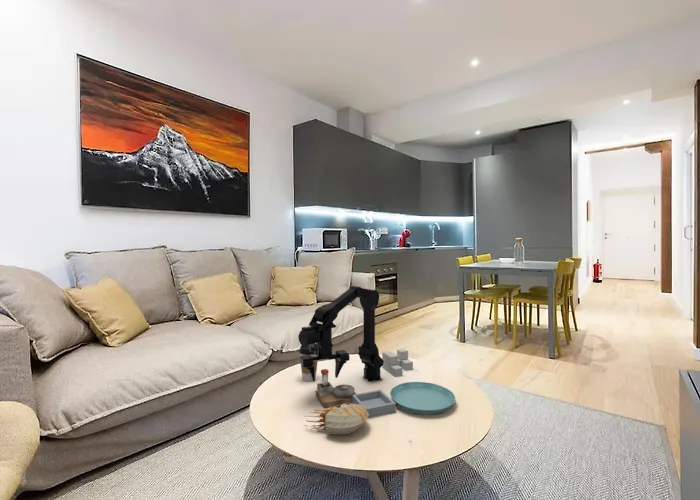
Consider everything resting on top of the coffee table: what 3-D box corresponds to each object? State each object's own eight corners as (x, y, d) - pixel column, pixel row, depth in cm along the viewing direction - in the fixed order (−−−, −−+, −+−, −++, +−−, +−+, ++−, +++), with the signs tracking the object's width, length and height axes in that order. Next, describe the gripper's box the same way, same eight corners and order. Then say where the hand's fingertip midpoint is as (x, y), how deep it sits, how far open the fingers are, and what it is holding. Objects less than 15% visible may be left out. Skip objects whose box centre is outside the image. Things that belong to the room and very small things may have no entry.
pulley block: (348, 389, 148) (348, 377, 148) (358, 401, 138) (358, 388, 137) (315, 395, 143) (315, 383, 142) (323, 408, 132) (323, 395, 132)
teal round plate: (466, 401, 138) (466, 392, 138) (434, 427, 120) (434, 417, 120) (412, 383, 154) (412, 376, 154) (377, 404, 136) (377, 395, 136)
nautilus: (299, 441, 113) (310, 418, 128) (367, 441, 110) (371, 418, 125) (297, 415, 113) (309, 396, 128) (365, 415, 110) (369, 395, 125)
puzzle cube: (395, 377, 160) (395, 360, 160) (382, 368, 171) (382, 351, 171) (417, 373, 165) (417, 356, 164) (403, 364, 176) (403, 348, 176)
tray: (380, 397, 140) (380, 389, 140) (395, 412, 129) (395, 403, 129) (352, 403, 136) (352, 394, 136) (365, 418, 125) (365, 409, 125)
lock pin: (327, 390, 143) (327, 368, 142) (329, 393, 140) (329, 371, 140) (320, 391, 142) (319, 369, 141) (322, 394, 139) (322, 372, 138)
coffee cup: (320, 375, 162) (320, 342, 162) (316, 383, 154) (316, 349, 153) (302, 375, 163) (301, 342, 162) (297, 382, 155) (297, 348, 154)
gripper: (339, 332, 151) (340, 368, 152) (296, 337, 144) (296, 375, 145) (349, 339, 140) (350, 378, 141) (303, 345, 133) (303, 386, 134)
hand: (325, 379), depth 141 cm, fingers open, 9 cm apart
